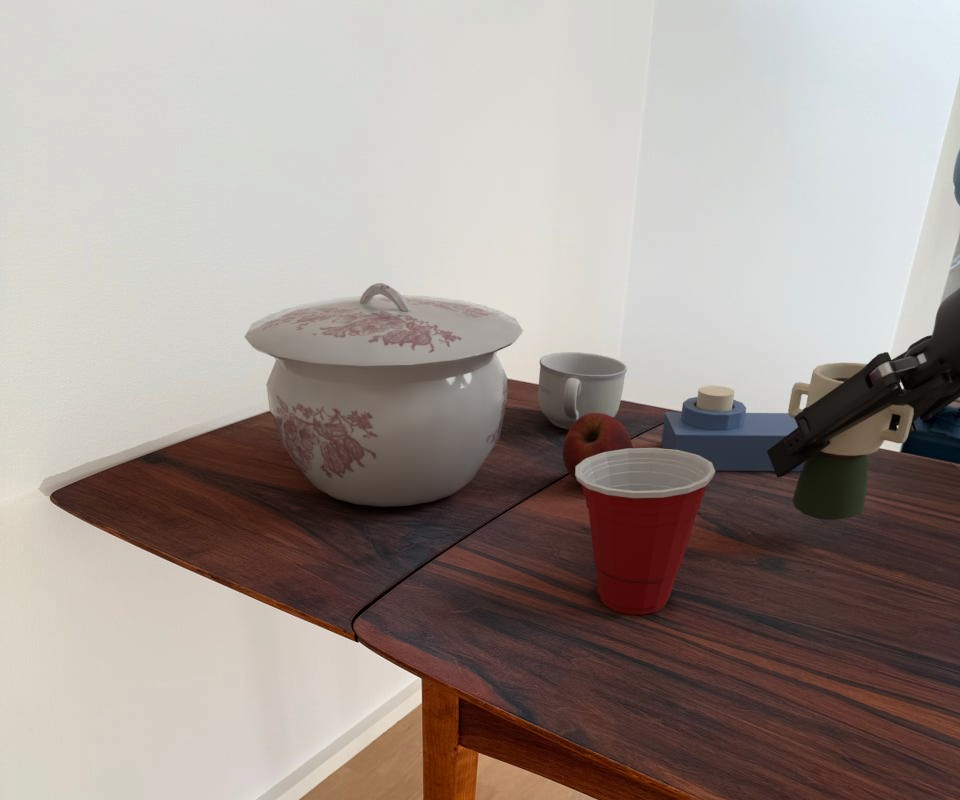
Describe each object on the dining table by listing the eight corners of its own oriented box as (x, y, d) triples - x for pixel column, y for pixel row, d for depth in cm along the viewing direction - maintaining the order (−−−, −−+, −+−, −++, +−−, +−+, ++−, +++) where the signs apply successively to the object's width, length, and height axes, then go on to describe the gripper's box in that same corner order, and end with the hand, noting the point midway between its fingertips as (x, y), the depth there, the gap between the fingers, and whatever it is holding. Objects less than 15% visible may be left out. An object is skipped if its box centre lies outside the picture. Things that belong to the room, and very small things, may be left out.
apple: (546, 485, 96) (548, 413, 92) (589, 466, 101) (594, 397, 96) (600, 504, 91) (606, 430, 87) (643, 483, 96) (651, 412, 92)
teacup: (555, 406, 119) (558, 346, 115) (632, 417, 115) (638, 355, 111) (513, 437, 109) (515, 372, 105) (596, 451, 105) (601, 384, 101)
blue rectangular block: (793, 445, 106) (802, 396, 103) (813, 471, 99) (824, 419, 96) (660, 444, 107) (666, 395, 104) (671, 470, 100) (677, 418, 96)
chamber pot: (506, 545, 83) (510, 318, 72) (228, 529, 86) (191, 309, 75) (528, 444, 107) (534, 261, 96) (309, 434, 110) (290, 256, 99)
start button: (727, 403, 102) (730, 385, 101) (735, 414, 99) (738, 395, 98) (693, 402, 102) (695, 385, 101) (699, 413, 99) (702, 395, 98)
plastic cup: (610, 557, 81) (621, 431, 75) (717, 593, 76) (739, 459, 69) (541, 602, 74) (547, 467, 68) (654, 645, 68) (671, 502, 62)
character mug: (899, 517, 81) (937, 376, 74) (866, 542, 77) (903, 395, 70) (790, 486, 87) (816, 353, 80) (753, 507, 83) (777, 369, 76)
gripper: (935, 376, 57) (736, 512, 78) (1132, 340, 64) (901, 474, 85) (891, 275, 58) (707, 437, 79) (1089, 252, 66) (872, 405, 87)
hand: (808, 456), depth 82 cm, fingers closed on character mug, 7 cm apart
